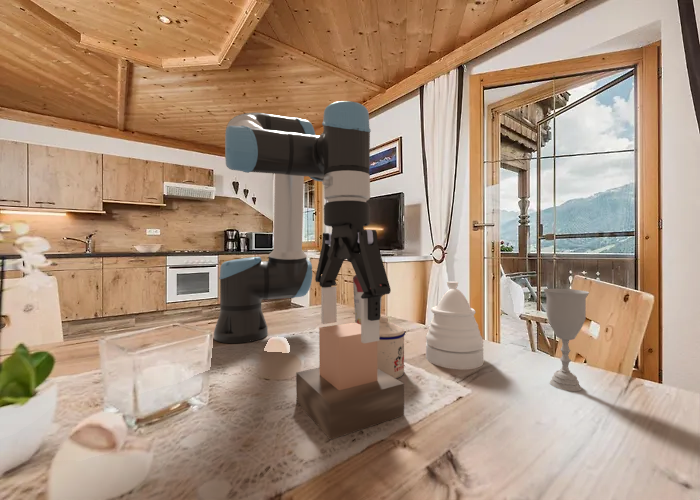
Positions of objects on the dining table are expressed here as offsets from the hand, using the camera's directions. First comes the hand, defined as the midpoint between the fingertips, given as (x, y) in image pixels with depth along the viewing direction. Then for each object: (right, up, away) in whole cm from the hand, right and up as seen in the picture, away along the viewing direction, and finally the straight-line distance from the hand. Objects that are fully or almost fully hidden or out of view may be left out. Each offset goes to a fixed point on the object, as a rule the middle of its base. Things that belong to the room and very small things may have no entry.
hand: (347, 331), depth 54 cm
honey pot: (+25, -13, +23) cm, 36 cm away
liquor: (+5, -13, +28) cm, 31 cm away
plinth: (0, -13, 0) cm, 13 cm away
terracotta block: (0, -8, 0) cm, 8 cm away
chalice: (+41, -13, +8) cm, 44 cm away
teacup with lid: (+8, -13, +17) cm, 22 cm away
